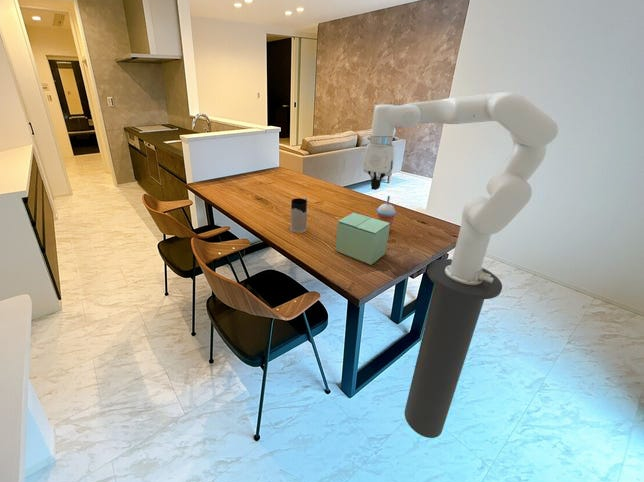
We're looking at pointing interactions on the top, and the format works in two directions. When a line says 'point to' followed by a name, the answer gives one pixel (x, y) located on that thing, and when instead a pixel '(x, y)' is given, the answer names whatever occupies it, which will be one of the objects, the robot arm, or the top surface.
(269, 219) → the top surface
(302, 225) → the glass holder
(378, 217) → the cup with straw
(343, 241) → the carton
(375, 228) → the flap
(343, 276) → the top surface
